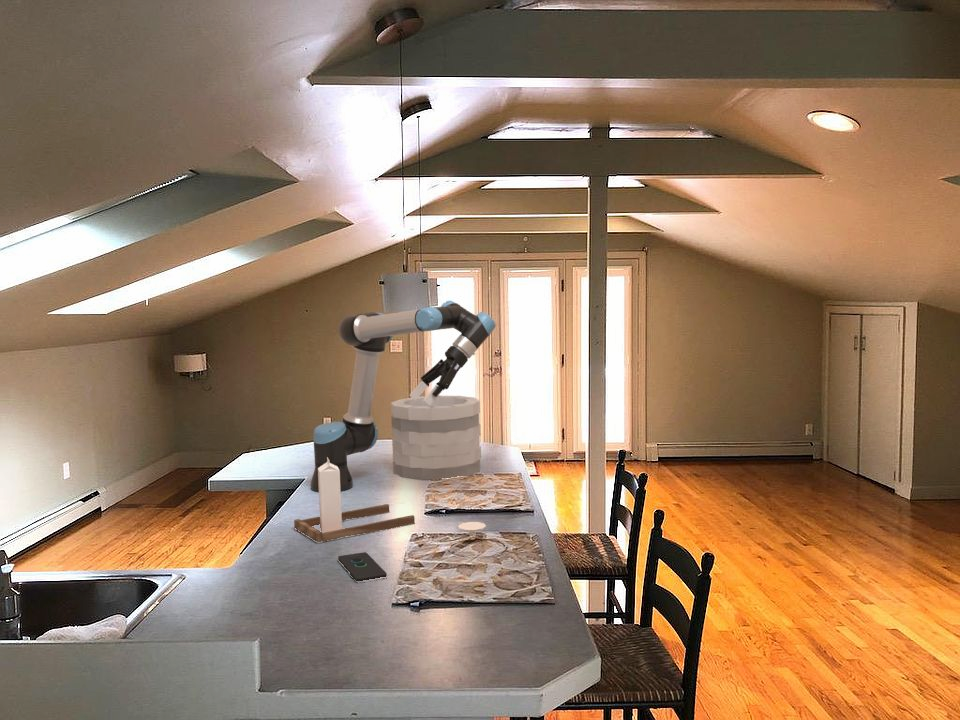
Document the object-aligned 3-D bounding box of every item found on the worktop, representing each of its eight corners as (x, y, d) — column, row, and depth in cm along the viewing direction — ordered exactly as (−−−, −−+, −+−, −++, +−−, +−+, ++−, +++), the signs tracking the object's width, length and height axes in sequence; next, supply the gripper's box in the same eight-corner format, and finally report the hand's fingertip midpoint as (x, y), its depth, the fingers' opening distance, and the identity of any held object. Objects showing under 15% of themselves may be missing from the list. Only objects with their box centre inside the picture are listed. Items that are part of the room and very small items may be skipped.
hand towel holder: (452, 545, 228) (440, 524, 248) (452, 561, 229) (441, 539, 249) (513, 540, 232) (497, 519, 252) (514, 555, 232) (497, 533, 252)
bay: (294, 529, 261) (294, 519, 261) (387, 511, 279) (387, 502, 278) (317, 543, 246) (317, 533, 246) (414, 523, 264) (414, 514, 264)
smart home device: (366, 551, 234) (388, 573, 216) (366, 557, 235) (388, 580, 216) (336, 555, 231) (356, 578, 213) (337, 562, 231) (356, 585, 213)
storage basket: (482, 459, 355) (480, 394, 352) (480, 479, 320) (478, 407, 317) (398, 461, 356) (396, 396, 353) (387, 481, 321) (384, 409, 318)
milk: (340, 527, 262) (337, 456, 260) (342, 532, 256) (339, 459, 254) (319, 528, 260) (317, 457, 258) (321, 534, 254) (319, 461, 252)
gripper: (482, 362, 274) (440, 412, 270) (453, 356, 297) (414, 403, 292) (467, 347, 271) (424, 397, 267) (439, 342, 294) (399, 388, 290)
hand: (418, 400), depth 280 cm, fingers open, 13 cm apart
